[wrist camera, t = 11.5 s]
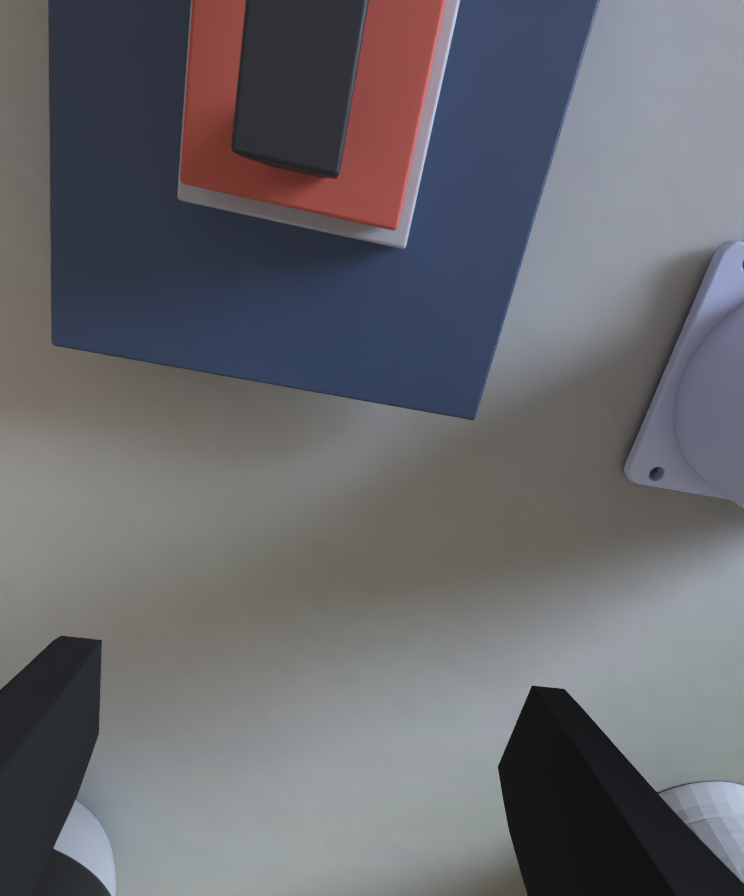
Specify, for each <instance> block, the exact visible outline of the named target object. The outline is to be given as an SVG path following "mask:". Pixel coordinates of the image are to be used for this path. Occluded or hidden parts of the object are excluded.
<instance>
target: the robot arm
mask: <svg viewBox="0 0 744 896" xmlns="http://www.w3.org/2000/svg"><path fill="white" fill-rule="evenodd" d="M743 261H744V242H741V241H728V242H726V243H723V244H722V245H721V246H720V247H719V248H717V250H716V252H715V253H714V255H713V257H712V260H711V262H710V264H709V267H708V269H707V271H706V274H705V276H704V279H703V281H702V283H701V286H700V288H699V290H698V293H697V295H696V298H695V300H694V302H693V305H692V307H691V309H690V312H689V314H688V316H687V319H686V321H685V324H684V326H683V328H682V331H681V333H680V335H679V338H678V340H677V343H676V345H675V347H674V350H673V352H672V354H671V357H670V359H669V362H668V364H667V366H666V369H665V371H664V373H663V376H662V378H661V381H660V383H659V385H658V388H657V390H656V392H655V395H654V397H653V399H652V402H651V404H650V407H649V409H648V411H647V414H646V416H645V418H644V421H643V423H642V426H641V428H640V430H639V433H638V435H637V437H636V440H635V442H634V445H633V447H632V449H631V452H630V454H629V456H628V459H627V461H626V464H625V467H624V473H625V475H626V476H627V478H628V479H629V480H631V481H632V482H633V483H636V484H640V485H646V486H652V487H658V488H664V489H670V490H676V491H682V492H688V493H694V494H699V495H705V496H711V497H717V498H723V499H729V500H732V501H734V502H735V503H736V504H738V505H739V506H740V507H742V508H743V509H744V270H743V267H742V264H743ZM655 467H658V470H657V472H656V473H655V474H653V475H650V476H649V473H650V471H651V470H652V469H654V468H655ZM101 646H102V640H95V639H86V638H76V637H67V636H60V637H58V638H57V639H55V640H54V641H52V642H51V643H50V644H49V645H48V646H47V647H46V648H45V649H44V650H43V651H42V652H41V653H40V654H39V655H38V656H36V657H35V658H34V659H33V660H32V661H31V662H30V663H29V664H28V665H27V666H26V667H25V668H24V669H23V670H22V671H20V672H19V673H18V674H17V675H16V676H15V677H14V678H13V679H12V680H11V681H10V682H9V683H7V684H6V685H5V686H4V687H3V688H2V689H1V690H0V896H31V895H32V892H33V890H34V888H35V886H36V884H37V882H38V880H39V878H40V876H41V873H42V871H43V869H44V867H45V865H46V863H47V861H48V858H49V856H50V854H51V852H52V850H53V848H54V846H55V843H56V841H57V839H58V837H59V835H60V833H61V831H62V828H63V826H64V824H65V822H66V820H67V818H68V815H69V813H70V811H71V809H72V807H73V805H74V802H75V799H76V797H77V794H78V791H79V788H80V786H81V783H82V780H83V777H84V775H85V772H86V769H87V766H88V763H89V760H90V757H91V754H92V752H93V749H94V746H95V743H96V740H97V737H98V734H99V709H100V678H101ZM498 770H499V776H500V782H501V788H502V794H503V800H504V806H505V811H506V816H507V821H508V827H509V832H510V835H511V839H512V843H513V846H514V850H515V853H516V857H517V860H518V863H519V867H520V870H521V874H522V877H523V881H524V884H525V888H526V891H527V894H528V896H744V883H743V882H742V881H741V880H740V879H739V878H738V877H737V876H736V875H735V874H734V873H733V872H732V871H731V870H730V869H729V868H728V867H727V866H726V865H725V864H724V863H723V862H722V861H721V860H720V859H719V858H718V857H717V856H716V855H715V854H714V853H713V852H712V851H711V850H710V849H709V848H708V847H707V846H706V845H705V844H704V843H703V842H702V841H701V839H700V838H699V837H698V836H697V835H696V834H695V833H694V832H693V831H692V830H691V829H690V828H689V827H688V826H687V825H686V824H685V823H684V821H683V820H682V819H681V818H680V817H679V816H678V815H677V814H676V813H675V812H674V811H673V810H672V809H671V807H670V806H669V805H668V804H667V803H666V802H665V801H664V800H663V799H662V798H661V797H660V795H659V794H658V793H657V792H656V791H655V790H654V789H653V788H652V787H651V786H650V784H649V783H648V782H647V781H646V780H645V779H644V778H643V777H642V775H641V774H640V773H639V772H638V771H637V770H636V769H635V768H634V767H633V765H632V764H631V763H630V762H629V761H628V760H627V759H626V757H625V756H624V755H623V754H622V753H621V752H620V751H619V750H618V748H617V747H616V746H615V745H614V744H613V743H612V742H611V740H610V739H609V738H608V737H607V736H606V735H605V734H604V732H603V731H602V730H601V729H600V728H599V727H598V726H597V724H596V723H595V722H594V721H593V720H592V719H591V718H590V717H589V715H588V714H587V713H586V712H585V711H584V710H583V709H582V708H581V706H580V705H579V704H578V703H577V702H576V701H575V700H574V699H573V698H572V697H571V696H570V695H569V694H568V692H567V691H566V690H565V689H558V688H549V687H539V686H532V687H531V689H530V692H529V694H528V696H527V699H526V701H525V704H524V706H523V708H522V711H521V713H520V716H519V718H518V720H517V723H516V725H515V727H514V730H513V732H512V735H511V737H510V739H509V742H508V744H507V747H506V749H505V751H504V754H503V756H502V758H501V761H500V763H499V766H498Z"/></svg>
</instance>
